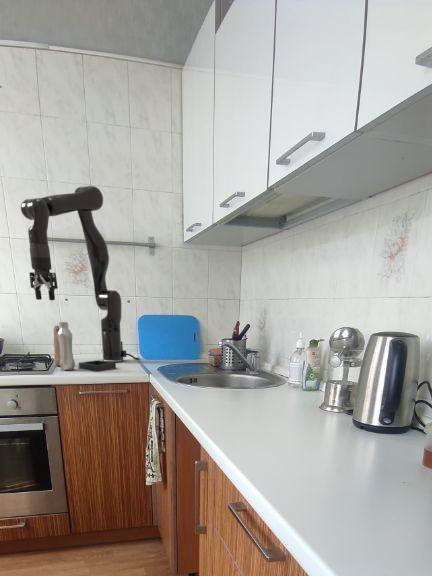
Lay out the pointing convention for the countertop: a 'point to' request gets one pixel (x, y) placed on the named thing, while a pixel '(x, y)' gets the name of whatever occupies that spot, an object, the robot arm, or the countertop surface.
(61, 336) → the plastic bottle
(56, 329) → the brown tapered cone
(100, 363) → the tray
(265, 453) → the countertop surface
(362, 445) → the countertop surface
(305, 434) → the countertop surface
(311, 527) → the countertop surface
